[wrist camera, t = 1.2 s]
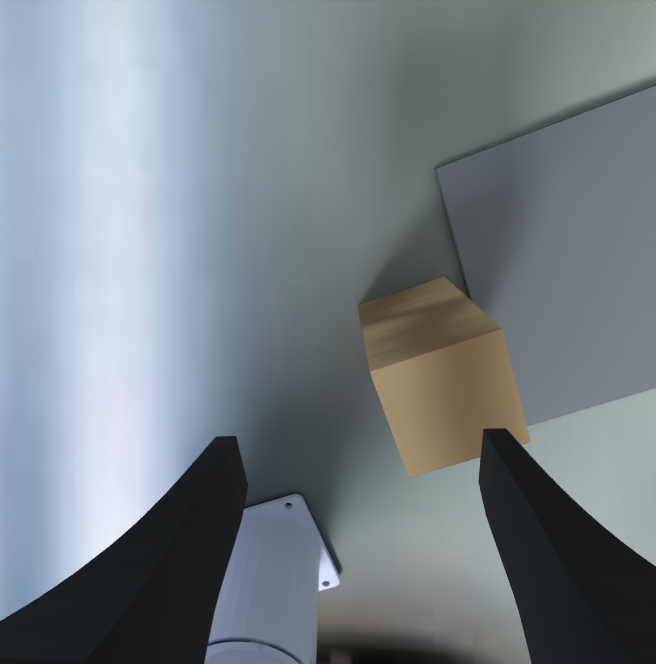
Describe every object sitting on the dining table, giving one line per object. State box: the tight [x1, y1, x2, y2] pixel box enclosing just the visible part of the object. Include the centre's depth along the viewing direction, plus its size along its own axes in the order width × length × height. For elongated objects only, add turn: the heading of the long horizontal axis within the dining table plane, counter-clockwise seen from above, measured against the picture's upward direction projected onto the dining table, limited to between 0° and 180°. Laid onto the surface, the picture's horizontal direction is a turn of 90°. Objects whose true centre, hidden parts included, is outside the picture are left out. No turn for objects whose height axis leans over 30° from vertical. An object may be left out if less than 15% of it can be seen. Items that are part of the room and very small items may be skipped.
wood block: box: [358, 276, 531, 478], centre depth 21 cm, size 5×5×9 cm
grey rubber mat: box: [435, 85, 656, 426], centre depth 24 cm, size 12×16×1 cm
